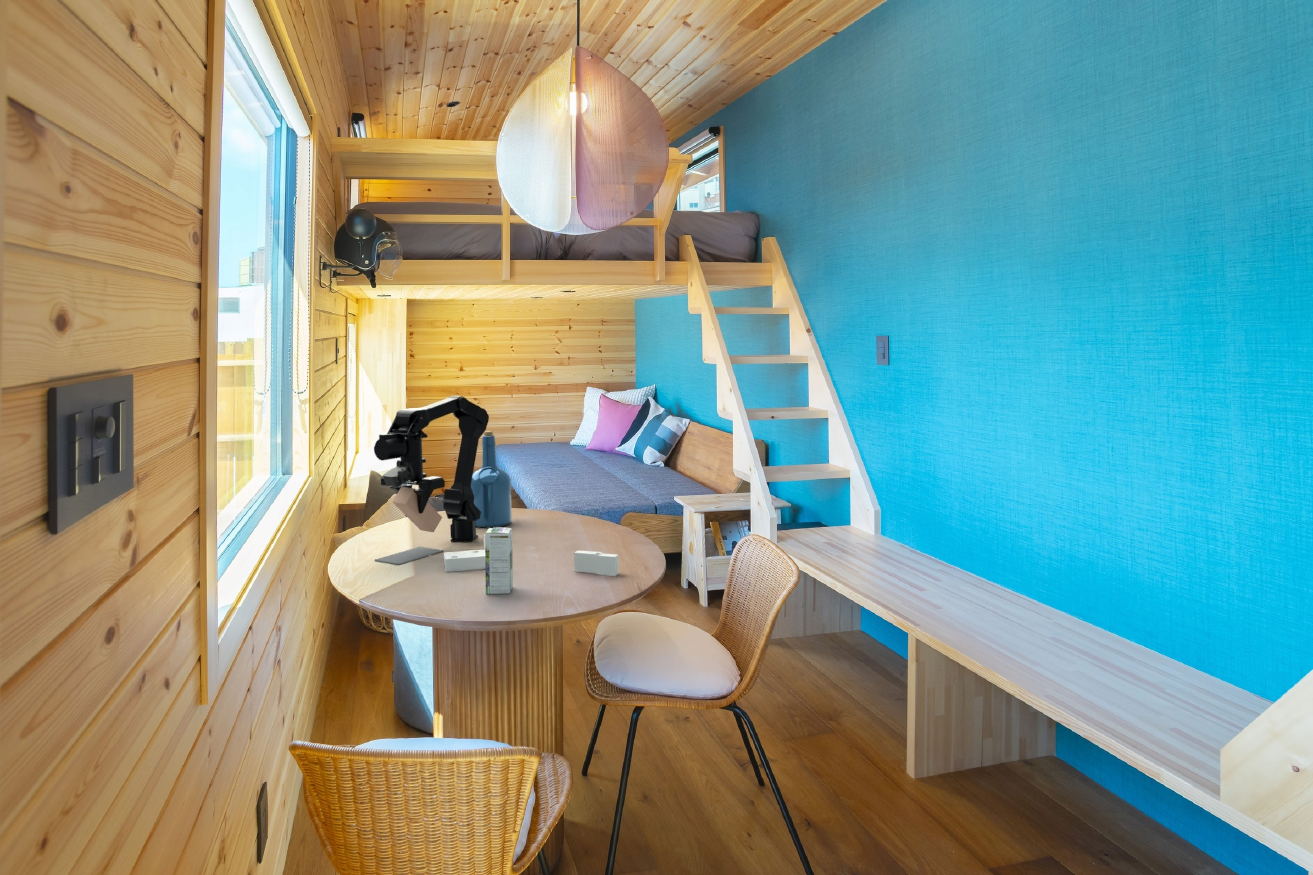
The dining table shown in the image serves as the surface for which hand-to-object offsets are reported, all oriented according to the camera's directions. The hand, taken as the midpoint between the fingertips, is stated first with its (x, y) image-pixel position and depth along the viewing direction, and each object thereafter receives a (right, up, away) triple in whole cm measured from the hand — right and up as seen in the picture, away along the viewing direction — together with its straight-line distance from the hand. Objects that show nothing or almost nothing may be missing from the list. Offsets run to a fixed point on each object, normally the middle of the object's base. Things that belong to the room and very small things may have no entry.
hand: (413, 512), depth 223 cm
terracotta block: (+3, -4, +6) cm, 8 cm away
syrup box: (+30, -16, -32) cm, 46 cm away
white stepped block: (+51, -14, -18) cm, 56 cm away
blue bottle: (+13, -8, +39) cm, 42 cm away
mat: (-1, -12, 0) cm, 12 cm away
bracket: (+18, -14, -11) cm, 25 cm away
